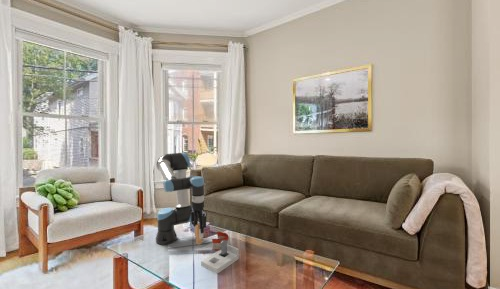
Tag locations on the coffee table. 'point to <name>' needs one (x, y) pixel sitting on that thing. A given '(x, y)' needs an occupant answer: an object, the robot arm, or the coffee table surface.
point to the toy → (219, 240)
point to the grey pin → (223, 248)
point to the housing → (221, 259)
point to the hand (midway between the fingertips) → (198, 236)
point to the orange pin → (198, 240)
